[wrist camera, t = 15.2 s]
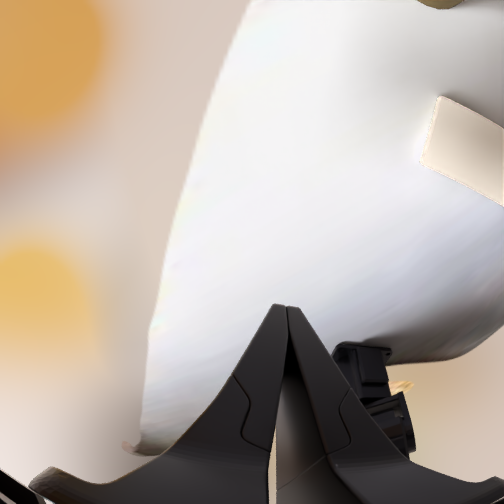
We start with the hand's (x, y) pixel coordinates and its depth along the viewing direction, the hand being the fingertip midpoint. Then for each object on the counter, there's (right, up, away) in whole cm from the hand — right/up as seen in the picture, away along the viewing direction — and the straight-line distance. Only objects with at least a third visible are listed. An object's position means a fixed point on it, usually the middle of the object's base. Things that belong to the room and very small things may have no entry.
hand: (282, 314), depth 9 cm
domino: (+11, +10, +6) cm, 16 cm away
